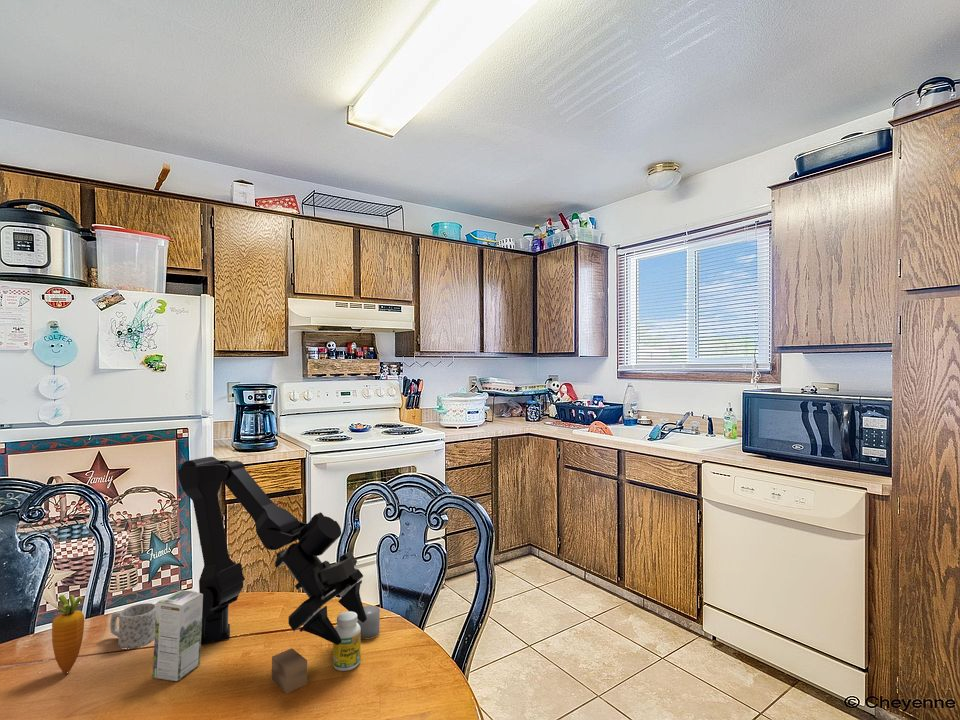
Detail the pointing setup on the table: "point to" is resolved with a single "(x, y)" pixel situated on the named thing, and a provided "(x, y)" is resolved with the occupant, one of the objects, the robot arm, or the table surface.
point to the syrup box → (177, 635)
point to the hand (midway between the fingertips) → (353, 631)
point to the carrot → (67, 633)
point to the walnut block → (289, 670)
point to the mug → (134, 625)
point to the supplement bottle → (347, 642)
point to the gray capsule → (370, 622)
